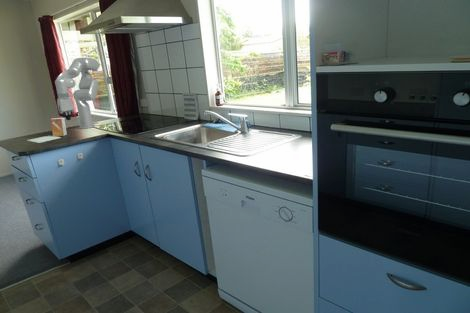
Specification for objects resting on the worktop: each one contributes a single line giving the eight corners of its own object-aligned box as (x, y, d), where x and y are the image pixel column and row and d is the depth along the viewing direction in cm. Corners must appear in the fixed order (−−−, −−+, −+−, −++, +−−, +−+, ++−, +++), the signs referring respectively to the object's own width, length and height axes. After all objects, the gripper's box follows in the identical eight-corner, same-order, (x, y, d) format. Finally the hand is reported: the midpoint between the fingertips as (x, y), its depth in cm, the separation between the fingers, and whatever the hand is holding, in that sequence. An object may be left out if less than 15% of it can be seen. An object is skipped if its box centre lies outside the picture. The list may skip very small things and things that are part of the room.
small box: (52, 136, 252) (50, 119, 249) (56, 135, 258) (53, 118, 255) (64, 135, 253) (61, 118, 250) (67, 134, 259) (64, 117, 256)
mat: (49, 136, 258) (49, 135, 258) (60, 137, 247) (60, 137, 247) (27, 141, 246) (26, 140, 246) (38, 143, 235) (37, 142, 235)
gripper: (70, 94, 262) (75, 118, 267) (51, 97, 251) (56, 121, 256) (75, 94, 258) (80, 118, 263) (56, 97, 247) (61, 122, 252)
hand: (68, 119), depth 259 cm, fingers closed
